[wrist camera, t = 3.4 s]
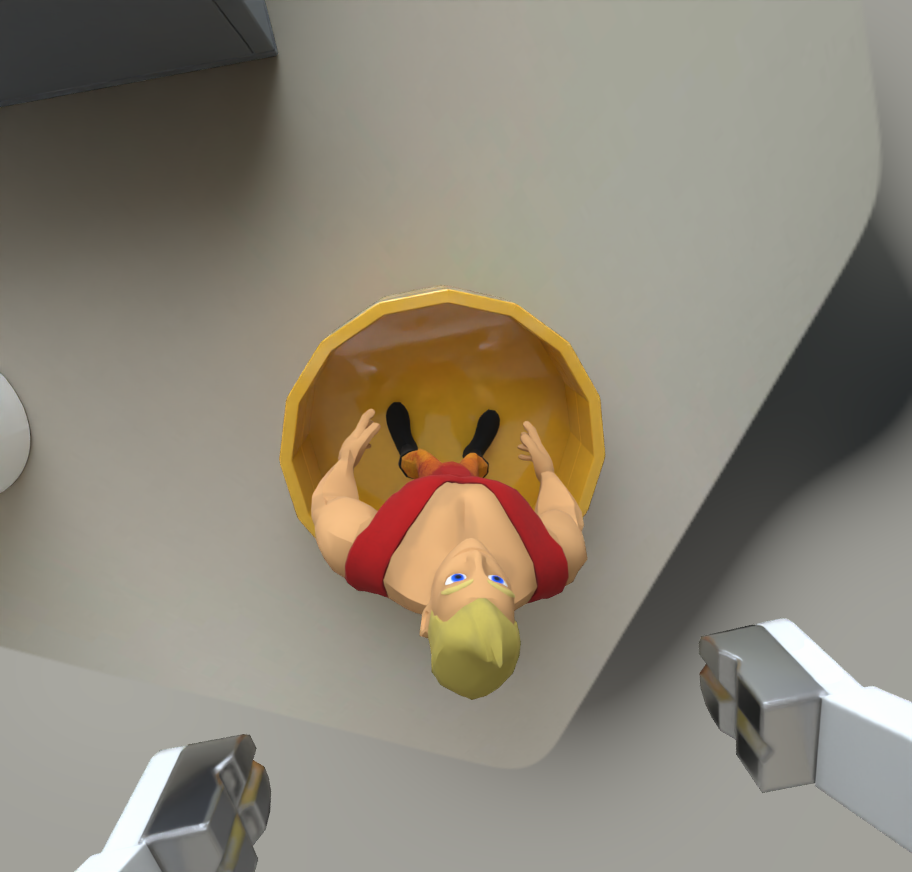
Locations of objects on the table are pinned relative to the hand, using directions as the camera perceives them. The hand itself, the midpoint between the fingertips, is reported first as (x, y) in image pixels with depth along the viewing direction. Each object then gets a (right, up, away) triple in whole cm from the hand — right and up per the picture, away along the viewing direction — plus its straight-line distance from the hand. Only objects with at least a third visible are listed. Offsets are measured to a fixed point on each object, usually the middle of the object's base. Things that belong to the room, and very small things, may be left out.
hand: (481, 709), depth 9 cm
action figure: (-1, +5, +15) cm, 16 cm away
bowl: (-1, +5, +15) cm, 16 cm away
